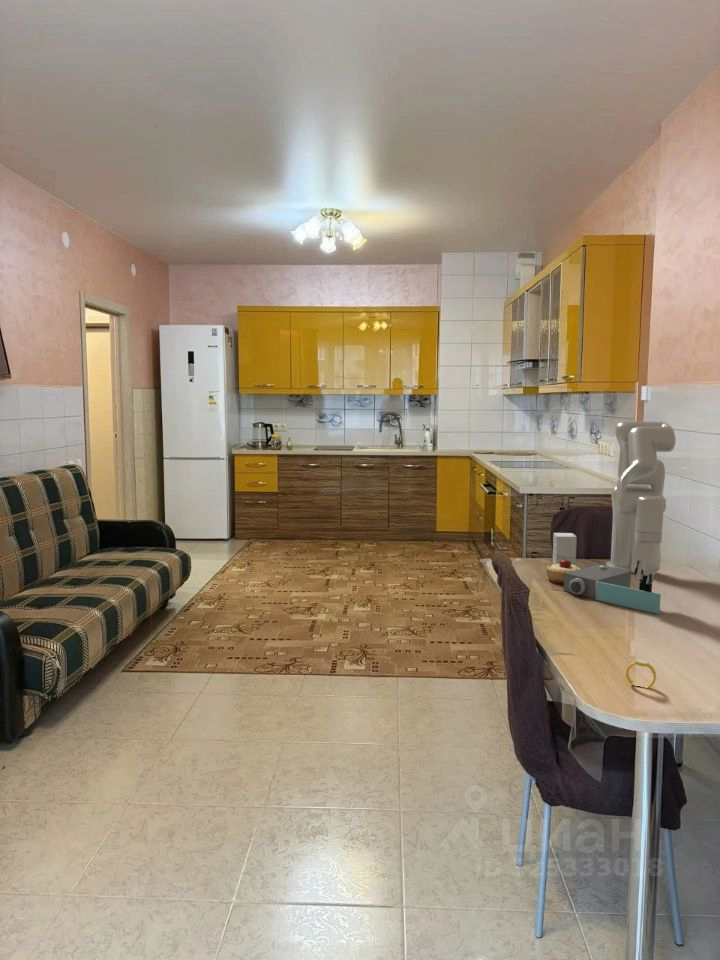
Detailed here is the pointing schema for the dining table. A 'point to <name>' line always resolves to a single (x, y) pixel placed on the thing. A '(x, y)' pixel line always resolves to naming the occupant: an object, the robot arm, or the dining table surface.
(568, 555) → the supplement box
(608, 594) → the side door
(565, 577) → the camera body
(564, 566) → the pastry
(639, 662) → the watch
